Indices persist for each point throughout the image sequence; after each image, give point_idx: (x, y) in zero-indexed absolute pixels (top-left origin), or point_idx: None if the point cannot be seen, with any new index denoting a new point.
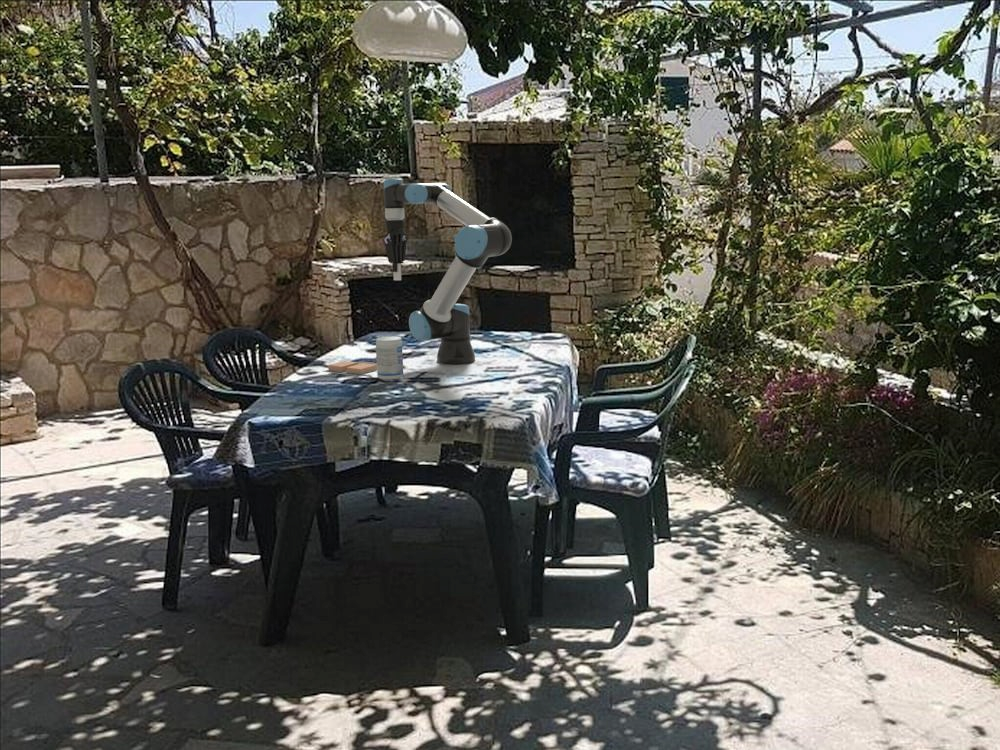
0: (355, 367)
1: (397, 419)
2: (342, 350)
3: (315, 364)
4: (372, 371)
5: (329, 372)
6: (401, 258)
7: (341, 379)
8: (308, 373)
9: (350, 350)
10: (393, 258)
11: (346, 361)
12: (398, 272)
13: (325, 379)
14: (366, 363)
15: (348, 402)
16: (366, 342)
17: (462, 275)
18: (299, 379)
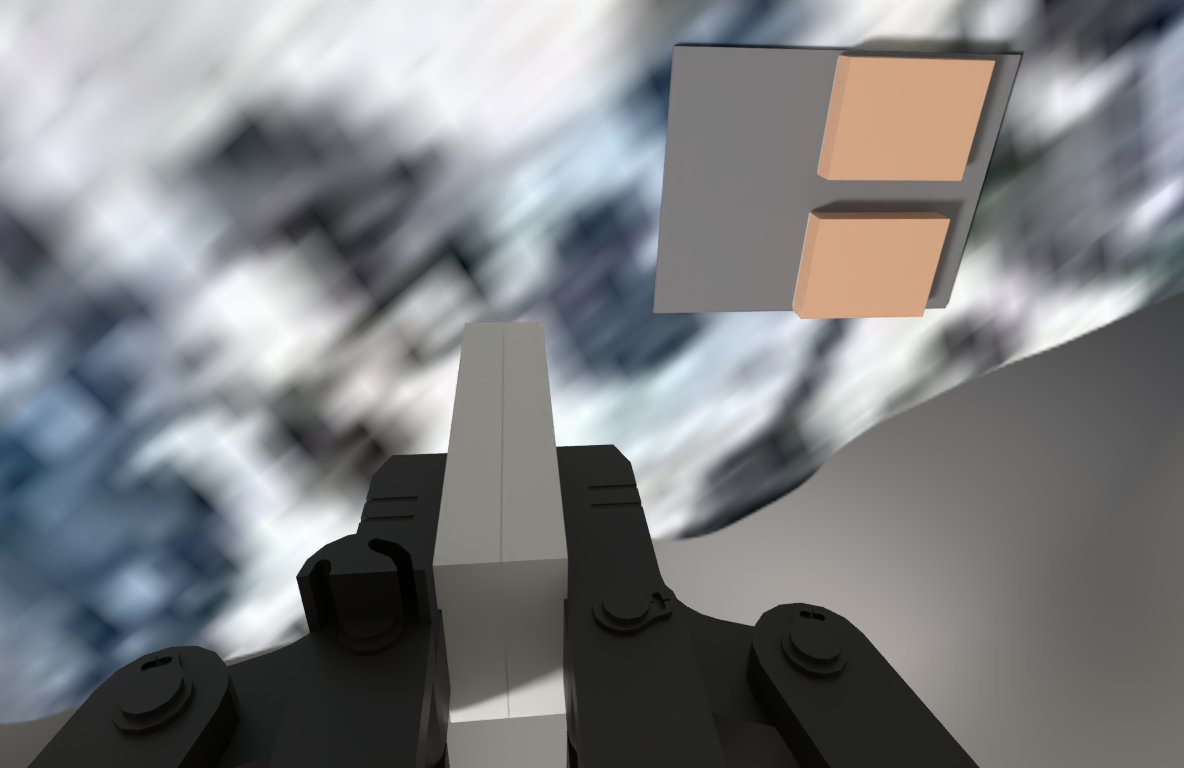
0: (954, 129)
1: None
2: None
3: (782, 459)
4: (882, 51)
5: (958, 261)
6: (315, 744)
7: (1084, 93)
8: (973, 348)
9: None
10: (883, 739)
11: (813, 296)
12: (551, 409)
13: (1093, 175)
14: (695, 245)
15: None
16: (221, 624)
17: None
18: (1105, 291)
